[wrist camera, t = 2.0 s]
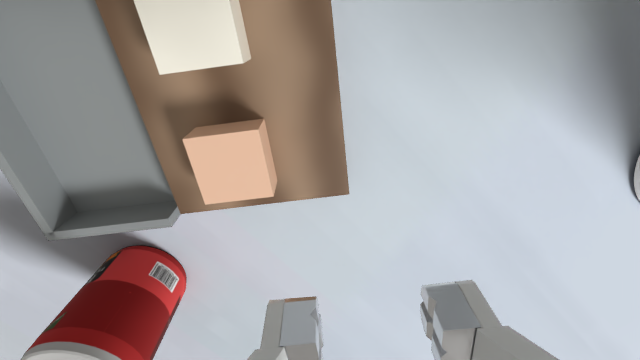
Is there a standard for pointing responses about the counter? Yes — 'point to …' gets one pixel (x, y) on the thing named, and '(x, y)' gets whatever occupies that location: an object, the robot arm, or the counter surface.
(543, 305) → the counter surface
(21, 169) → the tray
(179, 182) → the board
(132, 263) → the canned food
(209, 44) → the tile cream
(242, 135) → the tile terracotta
